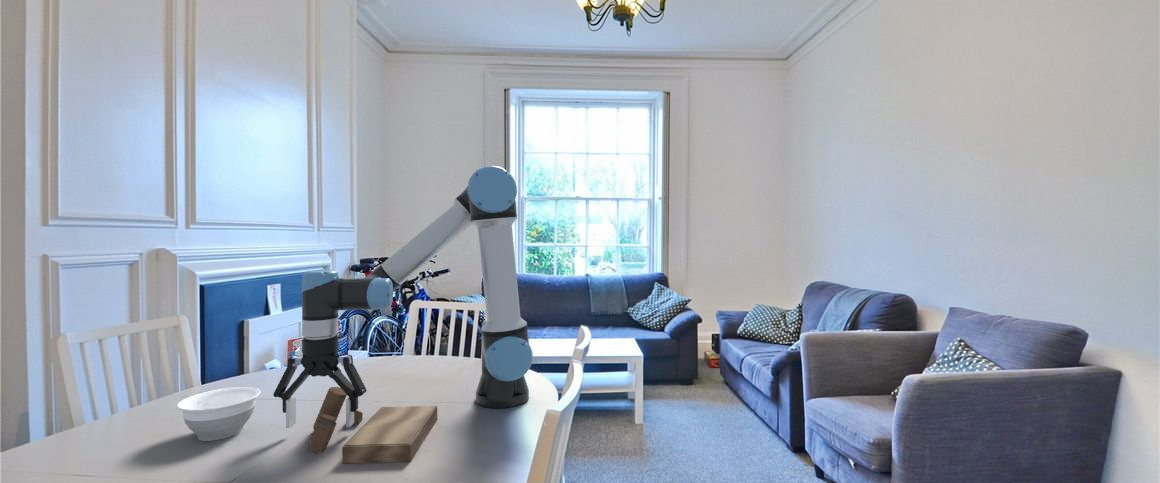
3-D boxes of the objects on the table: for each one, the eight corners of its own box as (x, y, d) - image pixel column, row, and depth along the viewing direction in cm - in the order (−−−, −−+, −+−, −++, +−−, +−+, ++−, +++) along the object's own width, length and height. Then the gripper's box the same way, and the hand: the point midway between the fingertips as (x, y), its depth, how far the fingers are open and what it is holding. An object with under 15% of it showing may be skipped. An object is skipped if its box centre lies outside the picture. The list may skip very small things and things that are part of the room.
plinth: (437, 419, 120) (437, 405, 119) (410, 461, 98) (410, 444, 98) (381, 420, 119) (381, 406, 119) (342, 463, 97) (342, 446, 97)
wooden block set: (325, 463, 102) (343, 421, 101) (287, 449, 101) (305, 406, 101) (359, 426, 120) (375, 389, 119) (327, 413, 119) (342, 377, 119)
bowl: (276, 424, 117) (276, 390, 117) (207, 452, 102) (207, 413, 102) (232, 416, 122) (231, 383, 122) (160, 441, 107) (159, 404, 107)
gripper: (380, 332, 114) (380, 418, 115) (275, 332, 113) (275, 419, 113) (368, 339, 107) (368, 431, 107) (255, 339, 105) (255, 433, 106)
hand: (320, 425), depth 110 cm, fingers open, 13 cm apart
